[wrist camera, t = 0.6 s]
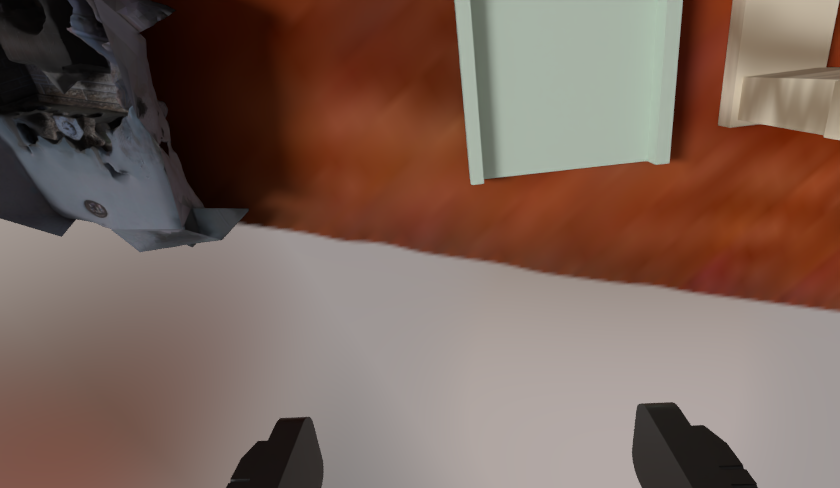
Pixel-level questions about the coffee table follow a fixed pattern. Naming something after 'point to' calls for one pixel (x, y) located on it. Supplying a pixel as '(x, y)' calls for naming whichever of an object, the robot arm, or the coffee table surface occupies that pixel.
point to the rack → (781, 67)
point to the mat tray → (566, 83)
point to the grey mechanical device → (92, 126)
